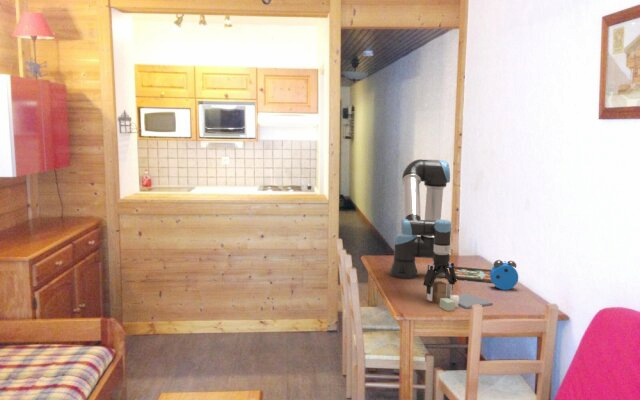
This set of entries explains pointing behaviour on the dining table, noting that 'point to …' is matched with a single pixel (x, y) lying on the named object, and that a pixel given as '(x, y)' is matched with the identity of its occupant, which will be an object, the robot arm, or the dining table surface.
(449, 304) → the sage block
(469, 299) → the grey mat
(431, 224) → the robot arm
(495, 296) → the dining table surface
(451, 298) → the cream cylinder
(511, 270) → the alarm clock
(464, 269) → the painting
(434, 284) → the walnut block
